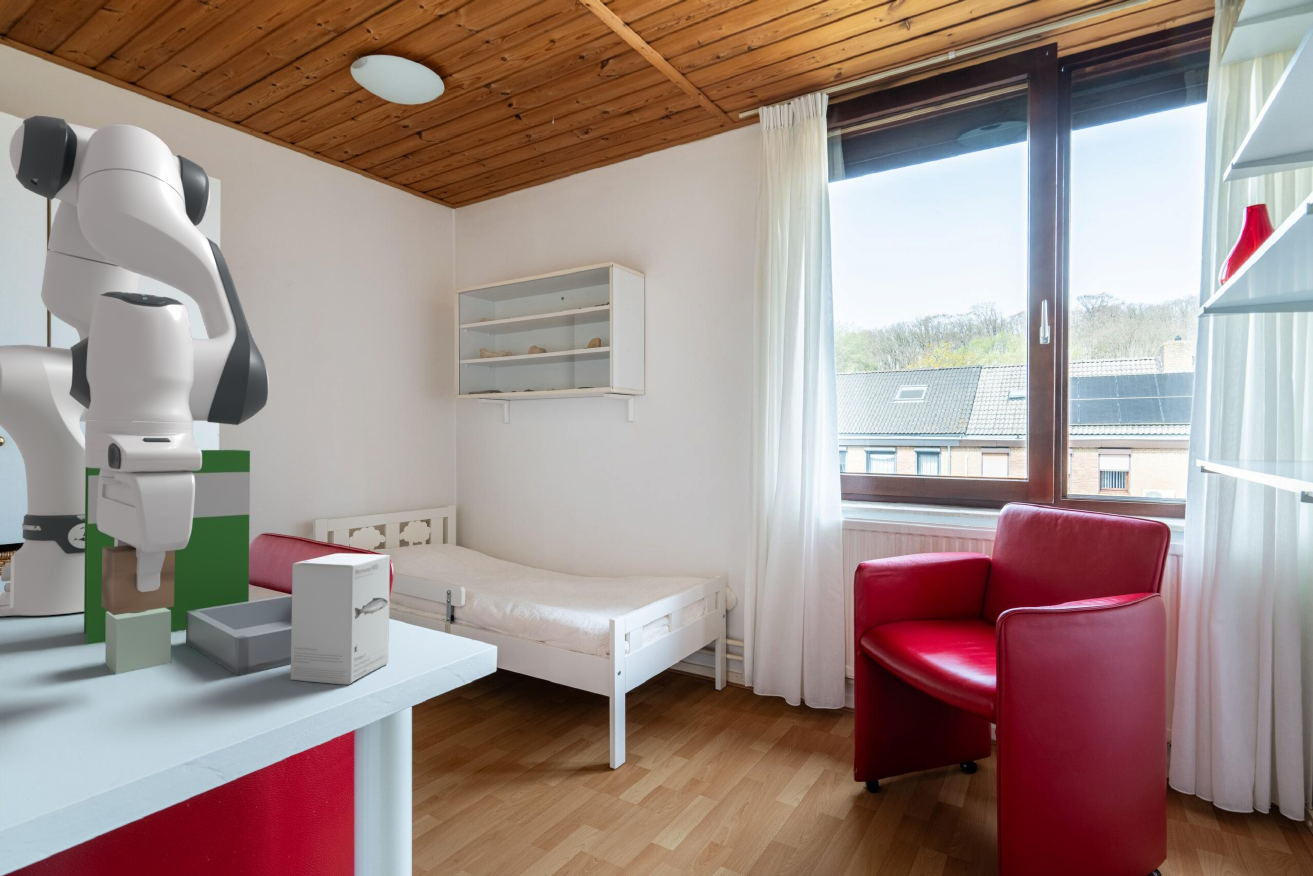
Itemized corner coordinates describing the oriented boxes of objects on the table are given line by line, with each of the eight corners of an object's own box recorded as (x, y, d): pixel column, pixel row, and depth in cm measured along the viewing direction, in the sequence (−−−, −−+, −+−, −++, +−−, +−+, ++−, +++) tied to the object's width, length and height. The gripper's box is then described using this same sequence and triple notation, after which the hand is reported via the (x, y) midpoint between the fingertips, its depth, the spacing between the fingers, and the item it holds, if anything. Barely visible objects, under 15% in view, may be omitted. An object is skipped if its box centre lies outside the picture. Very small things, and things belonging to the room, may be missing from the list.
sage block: (105, 664, 79) (105, 611, 79) (158, 654, 82) (158, 603, 82) (116, 674, 75) (116, 618, 75) (170, 663, 79) (171, 610, 79)
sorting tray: (185, 643, 87) (186, 611, 87) (301, 621, 97) (302, 593, 97) (238, 675, 75) (238, 638, 75) (363, 647, 86) (364, 614, 86)
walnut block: (101, 606, 71) (102, 546, 71) (160, 598, 75) (161, 541, 75) (113, 615, 68) (114, 552, 67) (173, 606, 71) (174, 547, 71)
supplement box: (350, 686, 72) (351, 565, 72) (288, 681, 74) (289, 562, 74) (391, 664, 79) (392, 553, 79) (333, 659, 81) (334, 551, 81)
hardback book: (86, 644, 86) (88, 451, 86) (83, 632, 92) (85, 450, 92) (248, 620, 98) (249, 450, 98) (237, 610, 103) (238, 449, 103)
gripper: (79, 447, 75) (77, 574, 75) (127, 453, 62) (125, 608, 62) (149, 447, 80) (147, 566, 80) (208, 453, 67) (206, 596, 67)
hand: (138, 585), depth 71 cm, fingers closed on walnut block, 5 cm apart
